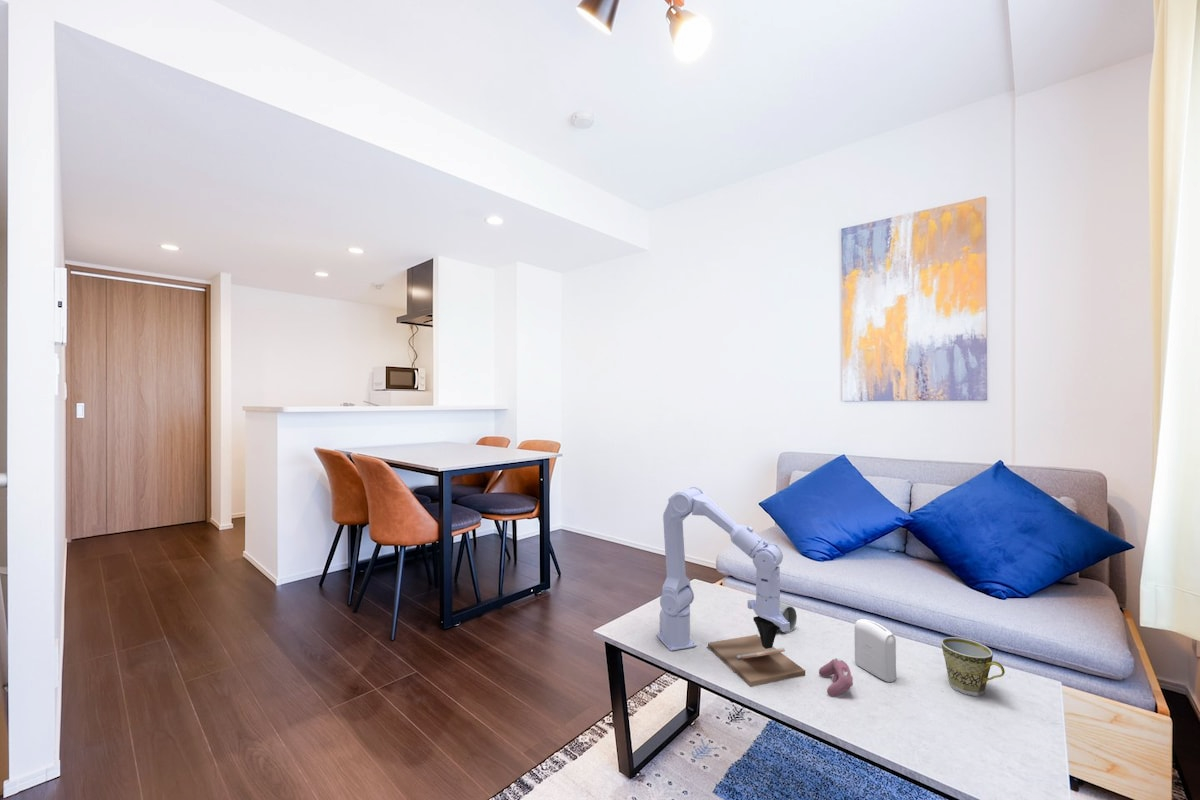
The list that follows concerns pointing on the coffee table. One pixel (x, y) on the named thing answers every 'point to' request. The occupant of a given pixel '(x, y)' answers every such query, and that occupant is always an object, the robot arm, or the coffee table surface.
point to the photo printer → (875, 649)
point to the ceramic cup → (968, 665)
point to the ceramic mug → (789, 615)
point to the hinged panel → (761, 653)
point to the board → (755, 661)
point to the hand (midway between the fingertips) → (767, 647)
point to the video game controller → (837, 676)
